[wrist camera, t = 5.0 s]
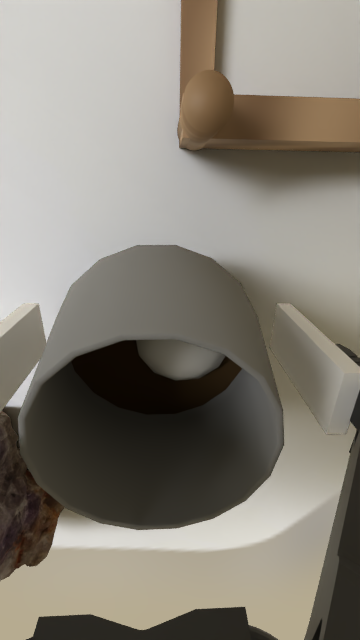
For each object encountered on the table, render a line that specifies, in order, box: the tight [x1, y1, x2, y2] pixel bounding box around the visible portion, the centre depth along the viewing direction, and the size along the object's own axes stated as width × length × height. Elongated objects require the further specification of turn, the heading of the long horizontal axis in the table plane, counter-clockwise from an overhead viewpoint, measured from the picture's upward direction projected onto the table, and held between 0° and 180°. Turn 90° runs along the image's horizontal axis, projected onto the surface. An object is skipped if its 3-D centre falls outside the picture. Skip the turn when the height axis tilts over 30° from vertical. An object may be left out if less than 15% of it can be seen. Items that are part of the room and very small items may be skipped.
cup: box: [18, 245, 284, 530], centre depth 13 cm, size 10×9×10 cm
